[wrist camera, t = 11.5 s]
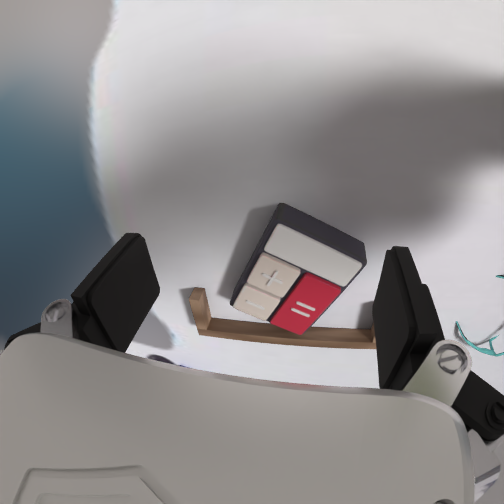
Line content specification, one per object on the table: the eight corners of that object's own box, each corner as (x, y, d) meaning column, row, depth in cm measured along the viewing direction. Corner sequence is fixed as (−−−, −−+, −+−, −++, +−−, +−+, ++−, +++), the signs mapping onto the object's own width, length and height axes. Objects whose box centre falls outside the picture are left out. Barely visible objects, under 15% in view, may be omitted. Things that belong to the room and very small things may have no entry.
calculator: (226, 309, 38) (274, 220, 28) (235, 286, 41) (280, 200, 31) (302, 340, 38) (369, 266, 29) (305, 316, 42) (365, 242, 32)
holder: (194, 287, 41) (188, 299, 39) (390, 300, 36) (393, 313, 34) (203, 323, 45) (199, 334, 43) (378, 336, 40) (379, 349, 38)
